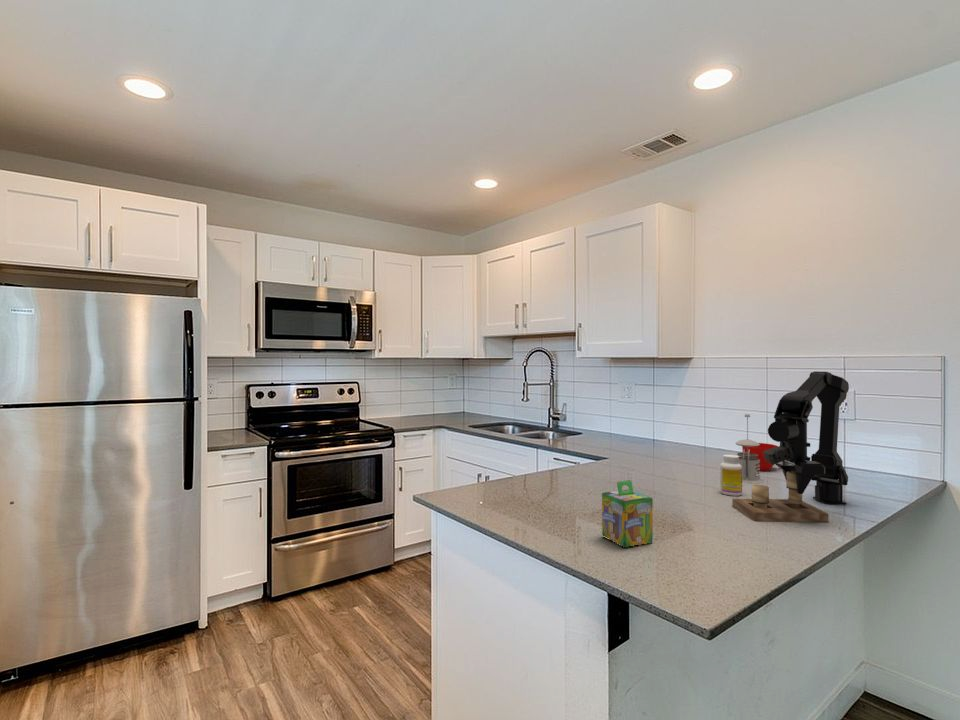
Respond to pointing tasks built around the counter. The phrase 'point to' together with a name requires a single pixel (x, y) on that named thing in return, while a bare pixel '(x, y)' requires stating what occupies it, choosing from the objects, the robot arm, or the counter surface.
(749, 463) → the french press
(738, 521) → the counter surface
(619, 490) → the chalk box
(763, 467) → the ceramic cup
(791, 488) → the oak leg
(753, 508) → the brown block with openings
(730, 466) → the supplement bottle
